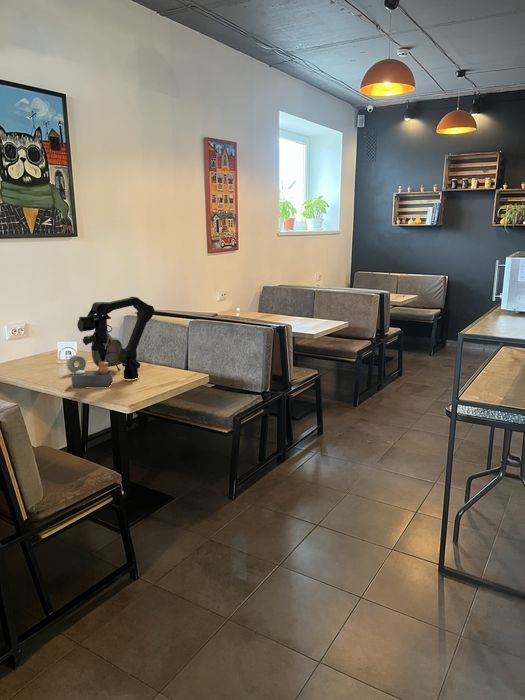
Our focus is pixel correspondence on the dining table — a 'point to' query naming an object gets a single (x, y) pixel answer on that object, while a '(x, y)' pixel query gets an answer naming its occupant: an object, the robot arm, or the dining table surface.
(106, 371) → the terracotta plunger
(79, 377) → the press block
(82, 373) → the plunger
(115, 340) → the tabletop clock
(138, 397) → the dining table surface
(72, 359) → the donut
